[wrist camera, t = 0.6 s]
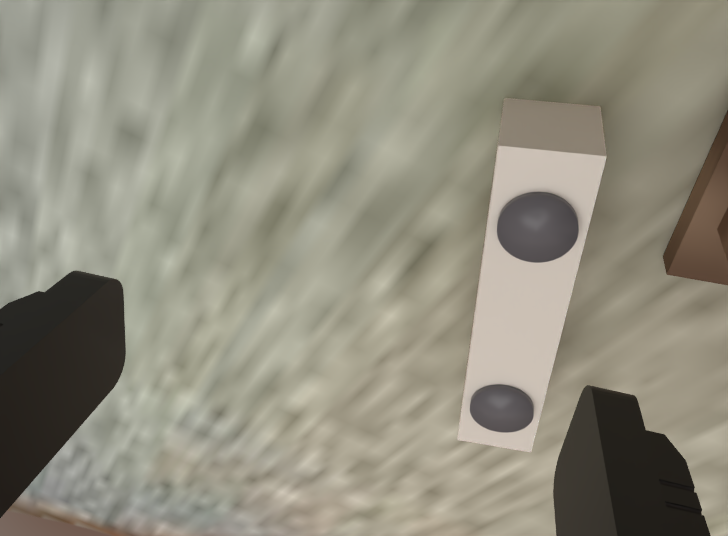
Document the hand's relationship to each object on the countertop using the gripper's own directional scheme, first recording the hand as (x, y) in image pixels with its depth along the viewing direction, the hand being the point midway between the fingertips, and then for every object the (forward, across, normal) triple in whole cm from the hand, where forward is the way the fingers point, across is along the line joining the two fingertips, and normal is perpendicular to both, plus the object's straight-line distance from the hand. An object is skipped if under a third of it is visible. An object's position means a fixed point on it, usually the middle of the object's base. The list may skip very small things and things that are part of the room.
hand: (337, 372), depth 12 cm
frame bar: (+19, -5, +6) cm, 20 cm away
